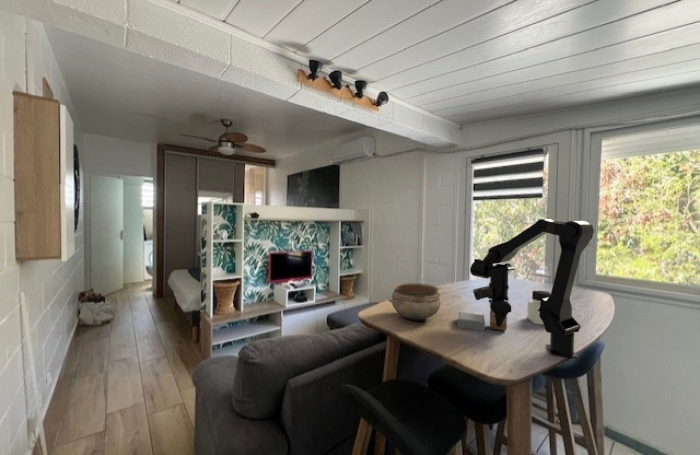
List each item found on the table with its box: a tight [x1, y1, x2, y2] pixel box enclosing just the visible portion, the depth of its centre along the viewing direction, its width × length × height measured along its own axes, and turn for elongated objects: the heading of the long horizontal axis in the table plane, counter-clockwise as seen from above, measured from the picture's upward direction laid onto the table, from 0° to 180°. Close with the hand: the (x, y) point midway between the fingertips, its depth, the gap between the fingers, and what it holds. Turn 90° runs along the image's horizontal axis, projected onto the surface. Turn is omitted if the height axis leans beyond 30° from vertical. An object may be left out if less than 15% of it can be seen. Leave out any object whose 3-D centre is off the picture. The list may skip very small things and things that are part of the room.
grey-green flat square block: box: [457, 311, 486, 332], centre depth 108 cm, size 9×9×3 cm
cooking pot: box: [388, 282, 441, 322], centre depth 115 cm, size 25×19×12 cm
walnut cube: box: [489, 310, 508, 331], centre depth 104 cm, size 5×5×5 cm
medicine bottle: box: [526, 289, 551, 326], centre depth 112 cm, size 7×7×12 cm
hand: (497, 323), depth 104 cm, fingers closed on walnut cube, 5 cm apart
